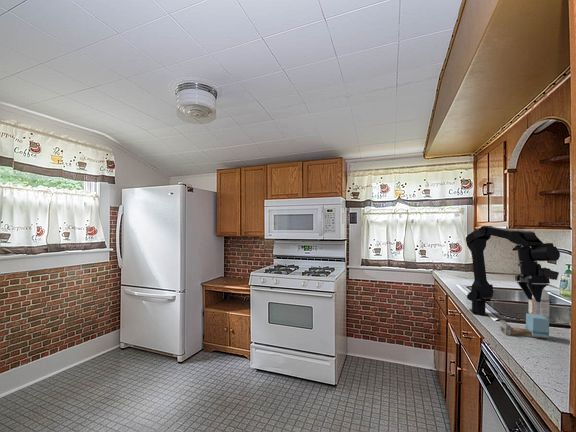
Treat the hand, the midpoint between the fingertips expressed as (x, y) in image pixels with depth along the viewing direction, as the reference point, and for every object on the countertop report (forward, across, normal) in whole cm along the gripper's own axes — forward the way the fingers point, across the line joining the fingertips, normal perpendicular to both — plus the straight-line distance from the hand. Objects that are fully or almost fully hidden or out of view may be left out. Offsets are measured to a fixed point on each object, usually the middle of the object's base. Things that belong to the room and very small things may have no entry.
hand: (534, 300), depth 110 cm
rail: (+14, +2, +5) cm, 15 cm away
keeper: (+14, +3, 0) cm, 14 cm away
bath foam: (+12, +23, -6) cm, 26 cm away
